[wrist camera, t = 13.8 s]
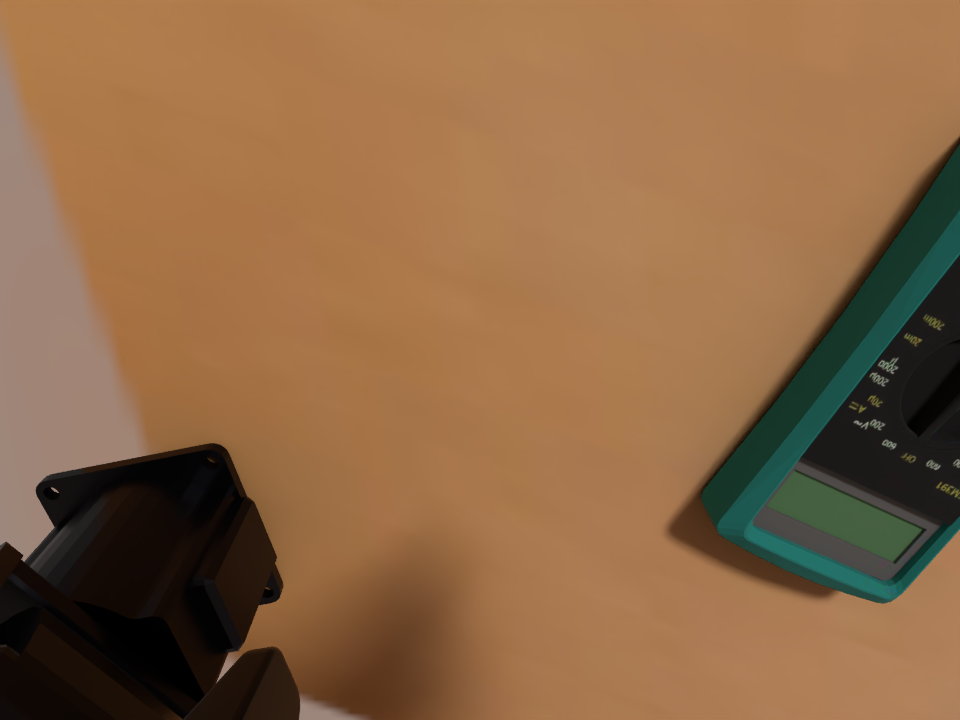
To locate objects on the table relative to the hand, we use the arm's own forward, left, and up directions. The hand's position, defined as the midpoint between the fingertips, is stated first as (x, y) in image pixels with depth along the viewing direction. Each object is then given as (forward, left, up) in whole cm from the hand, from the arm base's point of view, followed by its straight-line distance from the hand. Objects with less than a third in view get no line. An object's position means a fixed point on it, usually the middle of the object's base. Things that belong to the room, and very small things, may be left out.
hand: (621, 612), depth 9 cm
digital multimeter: (+11, -5, -14) cm, 19 cm away
